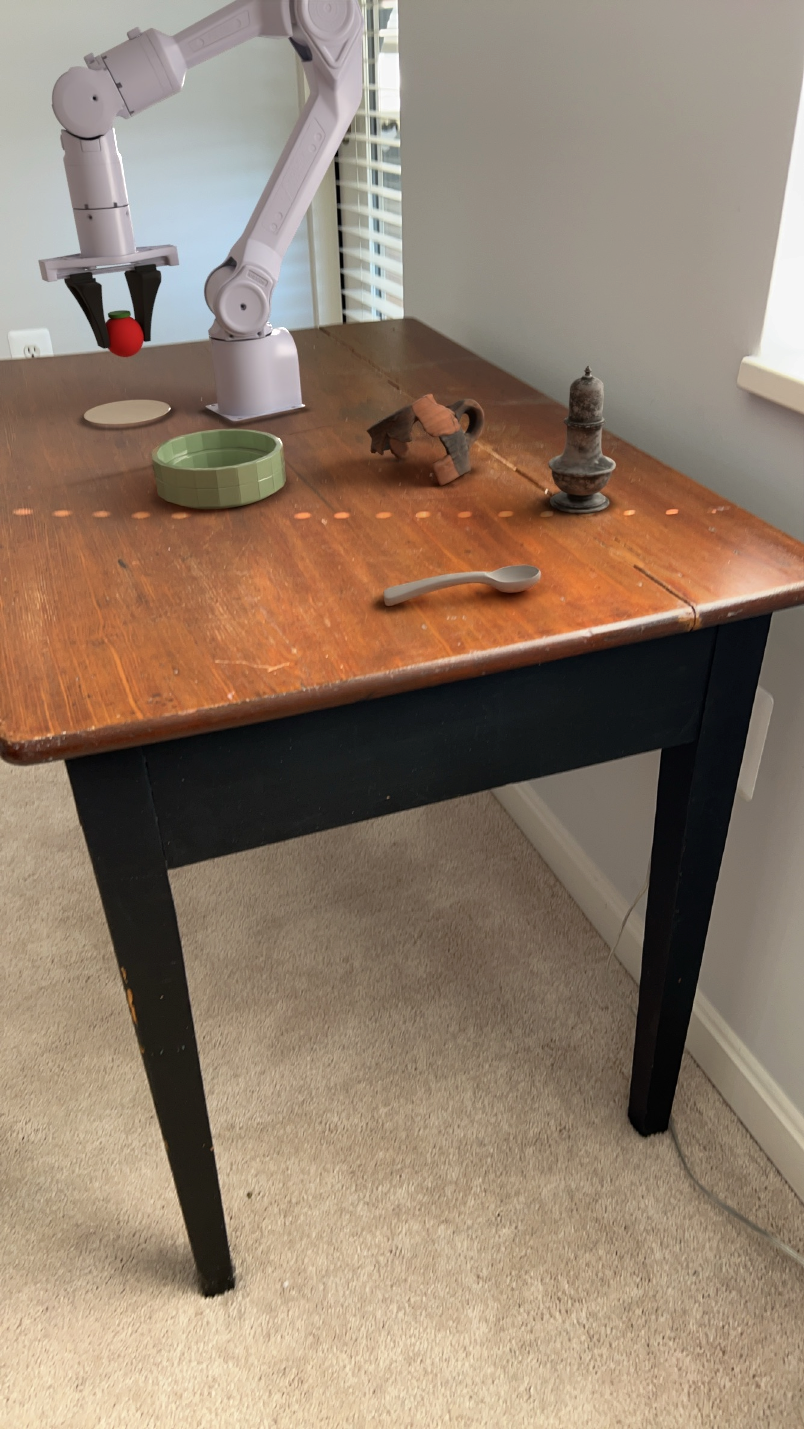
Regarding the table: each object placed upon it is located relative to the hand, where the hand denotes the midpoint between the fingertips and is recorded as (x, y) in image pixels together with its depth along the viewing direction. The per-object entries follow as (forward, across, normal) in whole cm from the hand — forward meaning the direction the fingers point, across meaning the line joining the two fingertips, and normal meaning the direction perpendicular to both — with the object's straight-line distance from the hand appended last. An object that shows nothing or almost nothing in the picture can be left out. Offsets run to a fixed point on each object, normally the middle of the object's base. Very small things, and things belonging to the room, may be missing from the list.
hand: (124, 343), depth 112 cm
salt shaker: (+9, -23, +50) cm, 55 cm away
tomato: (+1, 0, 0) cm, 1 cm away
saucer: (+9, 0, -4) cm, 10 cm away
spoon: (+9, -3, +59) cm, 60 cm away
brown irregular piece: (+9, -18, +34) cm, 39 cm away
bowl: (+9, +2, +26) cm, 28 cm away
